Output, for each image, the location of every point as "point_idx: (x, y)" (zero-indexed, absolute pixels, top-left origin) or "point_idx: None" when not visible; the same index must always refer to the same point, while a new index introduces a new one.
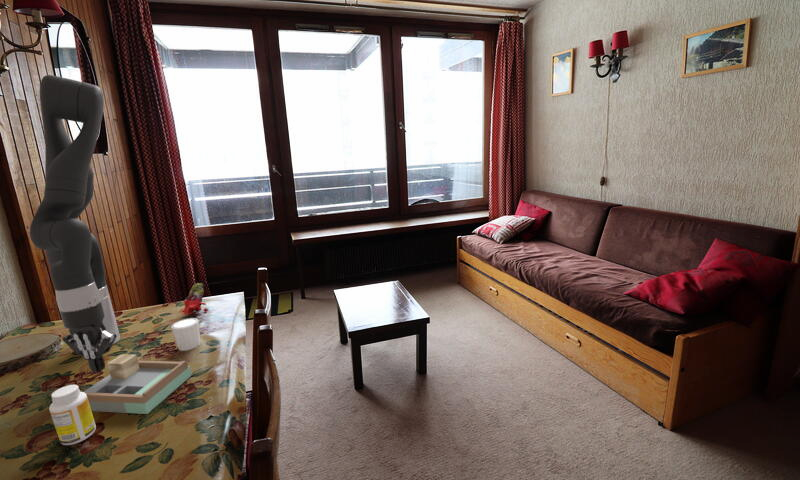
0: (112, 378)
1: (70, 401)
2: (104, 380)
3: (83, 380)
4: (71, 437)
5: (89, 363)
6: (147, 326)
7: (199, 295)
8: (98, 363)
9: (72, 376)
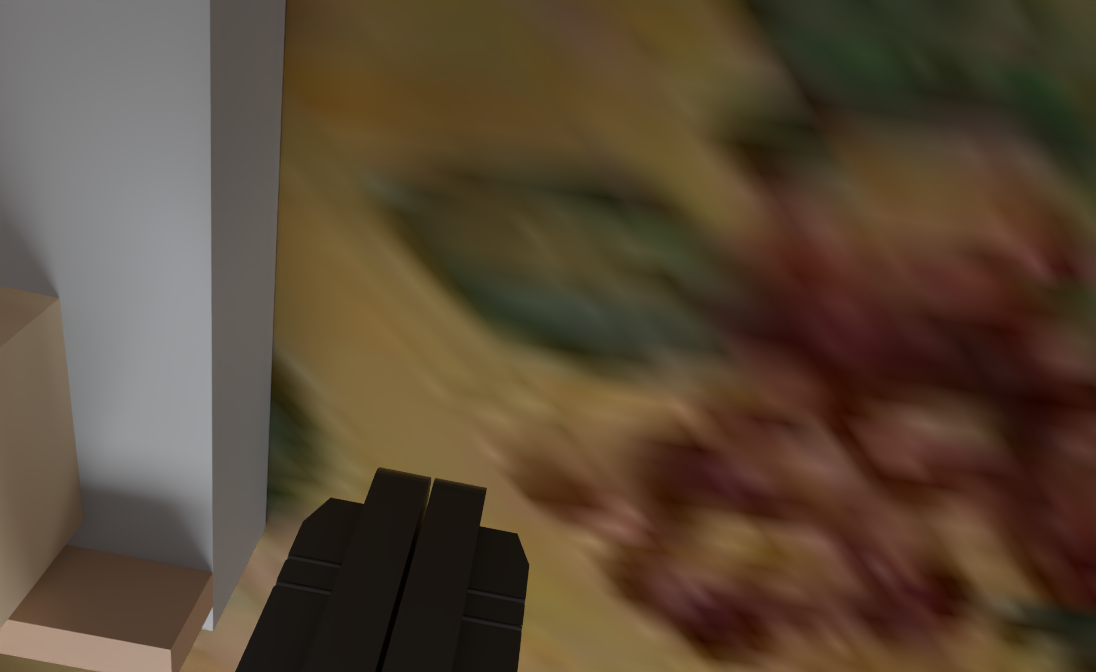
0: (32, 293)
1: None
2: (129, 256)
3: (776, 474)
4: None
5: (459, 625)
6: None
7: None
8: (276, 601)
9: (998, 582)
